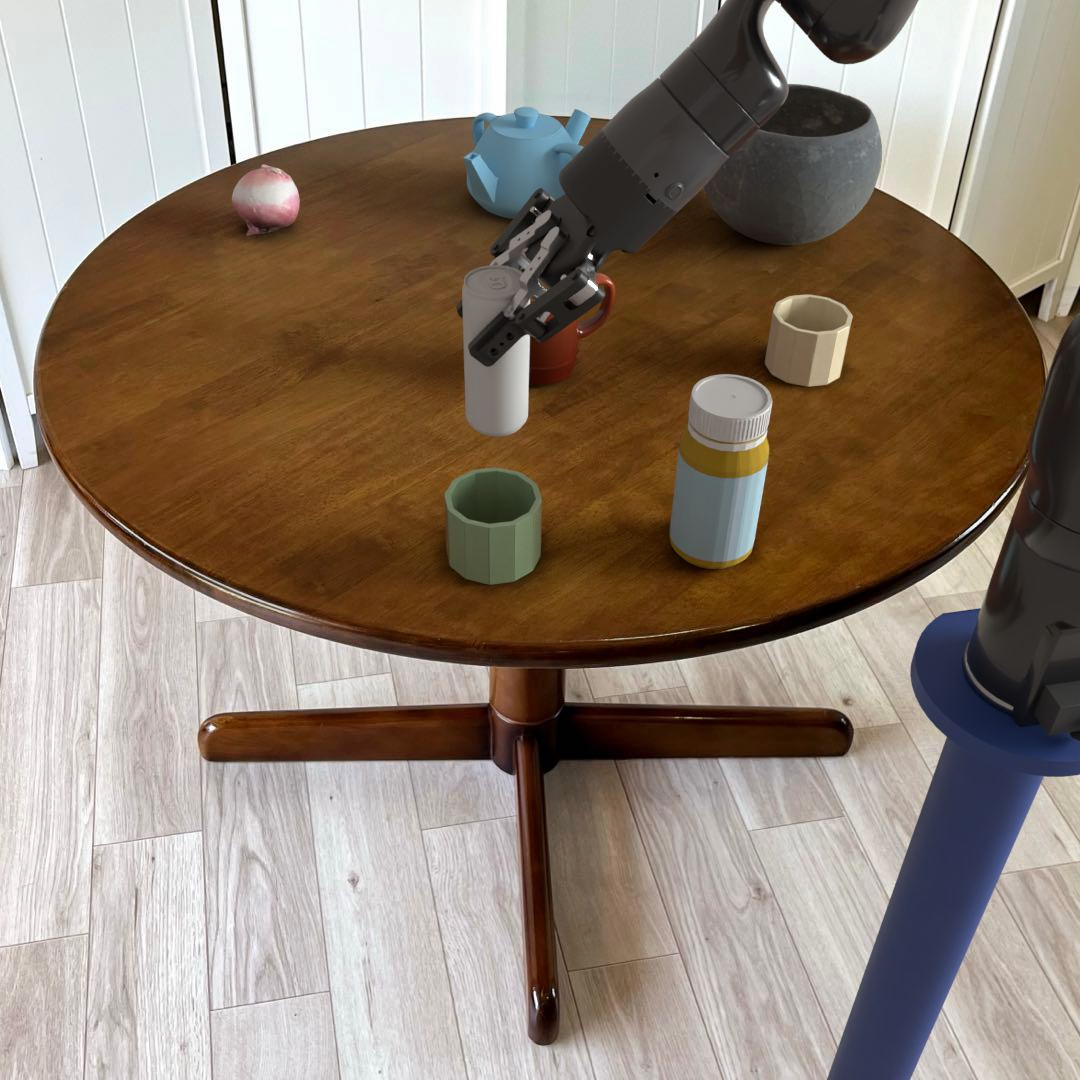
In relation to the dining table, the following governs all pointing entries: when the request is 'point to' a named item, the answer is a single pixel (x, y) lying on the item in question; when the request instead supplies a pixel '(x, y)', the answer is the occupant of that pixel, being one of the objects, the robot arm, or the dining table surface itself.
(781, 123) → the bowl
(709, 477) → the bottle
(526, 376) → the beverage can
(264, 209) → the onion
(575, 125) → the teapot
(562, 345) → the mug
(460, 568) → the holder
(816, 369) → the holder
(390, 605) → the dining table surface
